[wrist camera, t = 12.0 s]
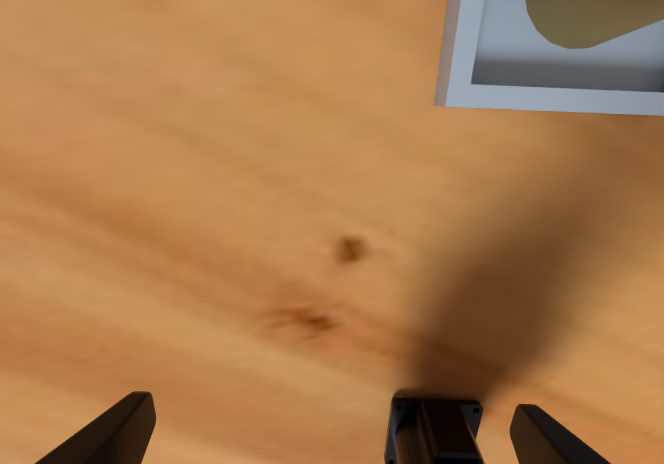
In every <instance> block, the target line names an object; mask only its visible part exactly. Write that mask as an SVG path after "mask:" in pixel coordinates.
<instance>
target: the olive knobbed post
mask: <svg viewBox="0 0 664 464" xmlns="http://www.w3.org/2000/svg"><path fill="white" fill-rule="evenodd" d="M525 1H526V8H527V13H528V15H529V17H530V19H531V21H532V23H533V25H534V27H535V29H536V30H537V31H538V32H539V33H540V34H541V35H542V36H543V37H544V38H546V39H547V40H548V41H549V42H550V43H552V44H555V45H558V46H561V47H564V48H567V49H584V48H591V47H593V46H596V45H599V44H601V43H604V42H607V41H609V40H612V39H614V38H617V37H620V36H622V35H625V34H627V33H630V32H632V31H635V30H638V29H640V28H643V27H645V26H648V25H650V24H653V23H655V22H658V21H661V20H663V19H664V0H525Z"/></svg>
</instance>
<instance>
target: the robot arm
mask: <svg viewBox="0 0 664 464" xmlns="http://www.w3.org/2000/svg"><path fill="white" fill-rule="evenodd" d="M398 405H400V406H398ZM482 413H483V408H482V406H481V404H480V402H478V401H473V400H442V399H411V398H396V399H394V400H393V401H392V402H391V408H390V416H389V424H388V431H387V439H386V447H385V454H384V459H385V464H485V462H484V460H483V457H482V455H481V453H480V450H479V448H478V445H477V443H476V436H477V432H478V428H479V424H480V420H481V416H482ZM155 423H156V413H155V408H154V402H153V397H152V394H151V393H150V392H144V391H134V392H132V393H130V394H128V395H127V396H126V397H124V398H123V399H122V400H120V401H119V402H118V403H116V404H115V405H113V406H112V407H111V408H109V409H108V410H107V411H105V412H104V413H103V414H101V415H100V416H99V417H97V418H96V419H94V420H93V421H92V422H90V423H89V424H88V425H86V426H85V427H84V428H82V429H81V430H80V431H78V432H77V433H76V434H74V435H73V436H71V437H70V438H69V439H67V440H66V441H65V442H63V443H62V444H61V445H59V446H58V447H57V448H55V449H54V450H53V451H51V452H50V453H48V454H47V455H46V456H44V457H43V458H42V459H40V460H39V461H38V462H36V463H35V464H141V463H142V460H143V457H144V454H145V452H146V449H147V446H148V444H149V441H150V438H151V435H152V433H153V430H154V427H155ZM510 437H511V440H512V443H513V446H514V449H515V452H516V455H517V458H518V461H519V464H611V463H610V462H608V461H607V460H606V459H605V458H603V457H602V456H601V455H599V454H598V453H597V452H596V451H594V450H593V449H592V448H591V447H589V446H588V445H587V444H585V443H584V442H583V441H582V440H580V439H579V438H578V437H577V436H575V435H574V434H573V433H571V432H570V431H569V430H568V429H566V428H565V427H564V426H563V425H561V424H560V423H559V422H557V421H556V420H555V419H554V418H552V417H551V416H550V415H549V414H547V413H546V412H545V411H543V410H542V409H541V408H540V407H538V406H536V405H534V404H519V405H518V406H517V407H516V409H515V413H514V416H513V419H512V422H511V426H510Z"/></svg>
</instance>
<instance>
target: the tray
mask: <svg viewBox="0 0 664 464" xmlns="http://www.w3.org/2000/svg"><path fill="white" fill-rule="evenodd" d="M434 105H435V106H445V107H468V108H492V109H515V110H539V111H563V112H587V113H611V114H634V115H658V116H664V19H663V20H661V21H658V22H655V23H653V24H650V25H648V26H645V27H643V28H640V29H638V30H635V31H632V32H630V33H627V34H625V35H622V36H620V37H617V38H614V39H612V40H609V41H607V42H604V43H601V44H599V45H596V46H593V47H591V48H584V49H567V48H564V47H561V46H558V45H555V44H552V43H550V42H549V41H548V40H547V39H546V38H544V37H543V36H542V35H541V34H540V33H539V32H538V31H537V30H536V29H535V27H534V25H533V23H532V21H531V19H530V17H529V15H528V13H527V8H526V1H525V0H448V6H447V13H446V21H445V28H444V35H443V43H442V50H441V58H440V65H439V72H438V80H437V87H436V95H435V102H434Z"/></svg>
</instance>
